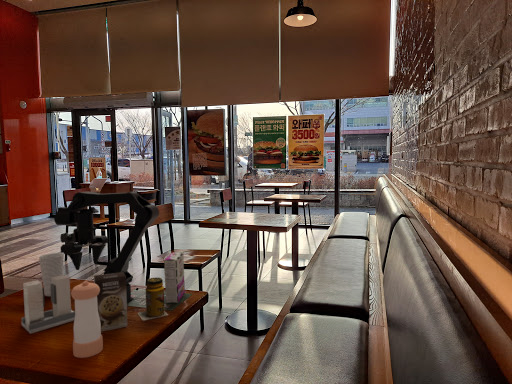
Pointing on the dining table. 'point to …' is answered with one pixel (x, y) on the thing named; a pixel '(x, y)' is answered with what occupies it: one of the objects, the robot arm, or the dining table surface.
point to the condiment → (154, 300)
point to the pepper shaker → (86, 321)
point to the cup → (50, 269)
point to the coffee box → (112, 300)
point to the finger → (60, 295)
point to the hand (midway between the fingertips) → (86, 266)
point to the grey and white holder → (40, 310)
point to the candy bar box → (174, 277)
